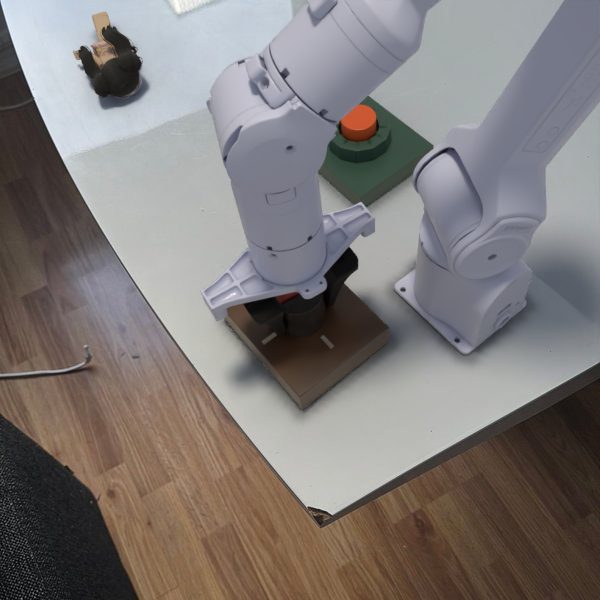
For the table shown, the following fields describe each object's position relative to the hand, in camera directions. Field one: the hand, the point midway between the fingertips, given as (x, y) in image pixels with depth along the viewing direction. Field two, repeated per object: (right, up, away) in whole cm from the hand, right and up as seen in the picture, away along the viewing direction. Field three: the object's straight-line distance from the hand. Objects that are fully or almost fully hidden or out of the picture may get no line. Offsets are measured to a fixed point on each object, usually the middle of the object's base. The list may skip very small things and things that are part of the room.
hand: (300, 312), depth 58 cm
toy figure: (-24, +30, +25) cm, 45 cm away
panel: (0, -2, +3) cm, 3 cm away
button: (+6, +19, +10) cm, 22 cm away
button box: (+6, +17, +13) cm, 22 cm away
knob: (0, 0, 0) cm, 0 cm away
